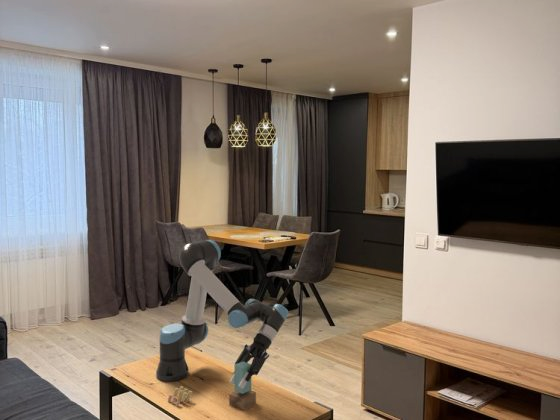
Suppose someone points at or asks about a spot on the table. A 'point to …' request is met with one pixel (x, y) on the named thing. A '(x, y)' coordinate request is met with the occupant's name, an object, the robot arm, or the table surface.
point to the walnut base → (242, 399)
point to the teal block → (239, 374)
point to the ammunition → (180, 393)
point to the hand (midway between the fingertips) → (236, 385)
